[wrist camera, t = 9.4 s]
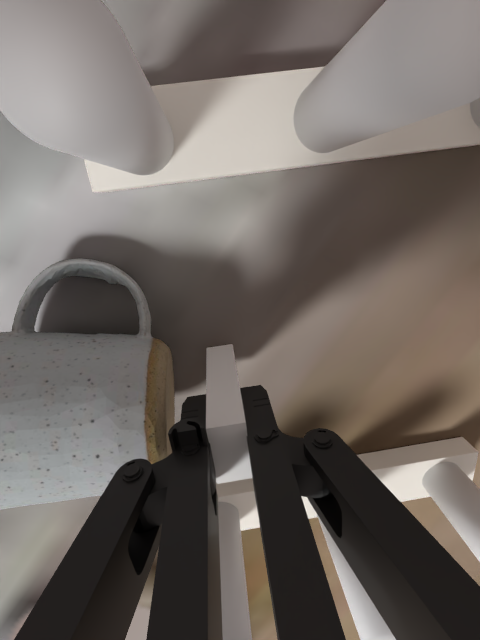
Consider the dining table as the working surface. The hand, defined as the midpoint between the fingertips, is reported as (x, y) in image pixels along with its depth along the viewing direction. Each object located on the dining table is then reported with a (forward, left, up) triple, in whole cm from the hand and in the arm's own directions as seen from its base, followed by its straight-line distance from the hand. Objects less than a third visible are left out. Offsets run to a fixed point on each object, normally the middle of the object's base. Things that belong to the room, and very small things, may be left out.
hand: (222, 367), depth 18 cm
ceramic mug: (-7, +1, -2) cm, 7 cm away
